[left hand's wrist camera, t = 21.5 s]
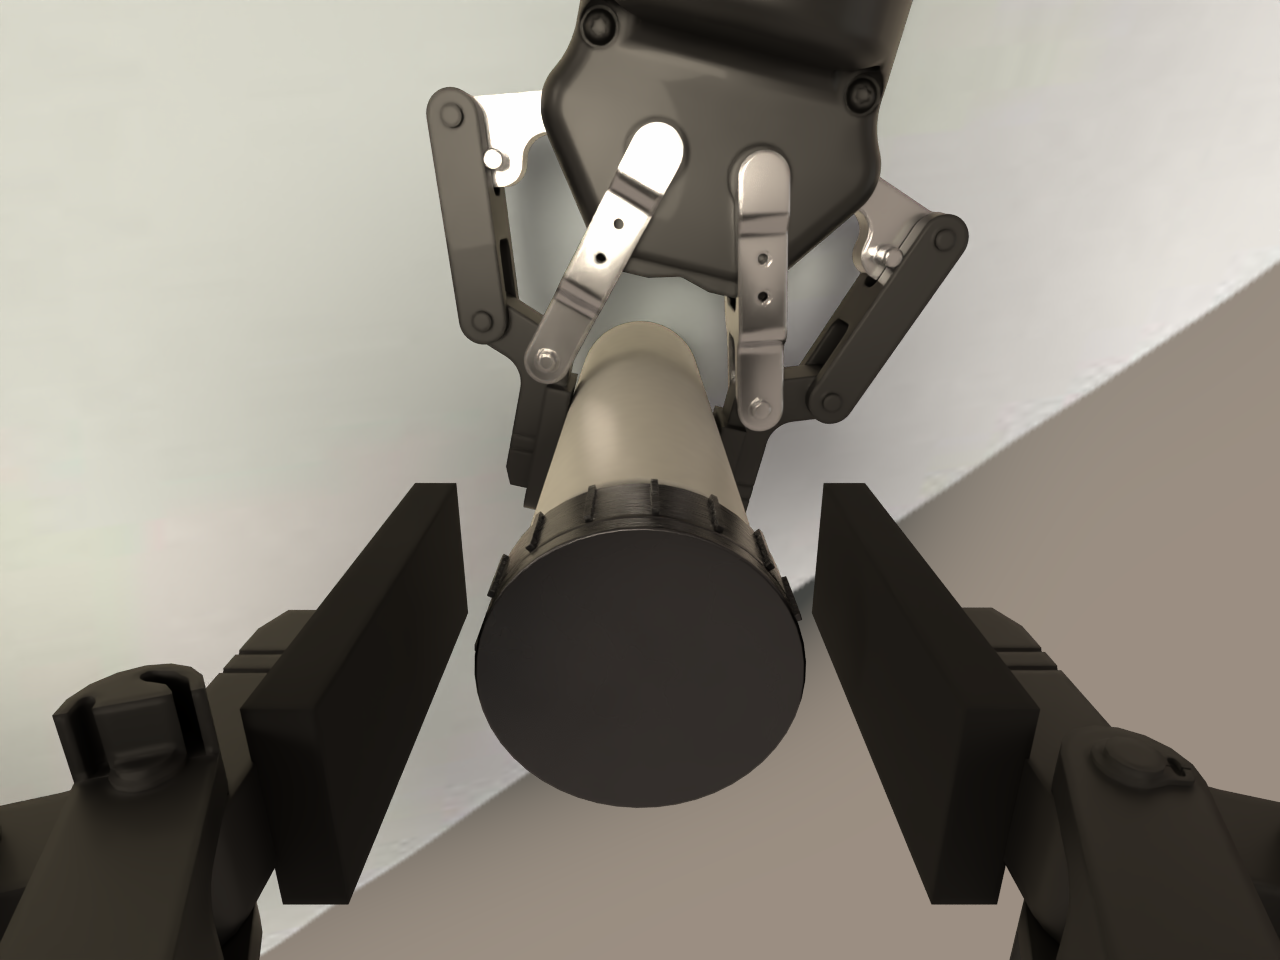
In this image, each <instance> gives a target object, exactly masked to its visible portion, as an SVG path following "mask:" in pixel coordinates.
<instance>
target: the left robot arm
mask: <svg viewBox="0 0 1280 960" xmlns="http://www.w3.org/2000/svg"><path fill="white" fill-rule="evenodd" d="M467 614H468V607H467V596H466V585H465V574H464V563H463V552H462V541H461V529H460V518H459V507H458V496H457V485H456V483H415V484H414V485H413V487H412V488H411V489H410V490H409V492H408V493H407V494H406V496H405V497H404V498H403V499H402V501H401V502H400V503H399V505H398V506H397V507H396V508H395V510H394V511H393V512H392V514H391V515H390V516H389V517H388V519H387V520H386V521H385V523H384V524H383V525H382V526H381V528H380V529H379V530H378V532H377V533H376V534H375V535H374V537H373V538H372V539H371V541H370V542H369V543H368V544H367V546H366V547H365V548H364V550H363V551H362V552H361V553H360V555H359V556H358V557H357V559H356V560H355V561H354V562H353V564H352V565H351V566H350V568H349V569H348V570H347V571H346V573H345V574H344V575H343V577H342V578H341V579H340V580H339V582H338V583H337V584H336V586H335V587H334V588H333V589H332V591H331V592H330V593H329V595H328V596H327V597H326V598H325V600H324V601H323V602H322V604H321V605H320V606H319V607H318V609H317V610H288V611H286V612H285V613H283V614H281V615H280V616H278V617H277V618H275V619H273V620H272V621H270V622H268V623H267V624H265V625H264V626H262V627H260V628H259V629H258V630H257V631H256V632H255V633H254V634H253V635H252V636H251V638H250V639H249V640H248V641H247V642H246V643H245V644H244V646H243V647H242V648H241V649H240V650H239V655H235V656H234V657H233V658H232V659H231V660H230V662H229V663H228V664H227V665H226V666H225V667H224V668H223V670H224V671H223V673H219V674H218V675H217V676H216V677H215V679H214V680H213V681H212V682H211V683H210V684H209V685H208V687H207V688H205V683H204V679H203V675H201V674H200V673H199V672H197V671H196V670H195V669H193V668H192V667H189V666H183V665H177V664H159V665H147V666H142V667H138V668H134V669H130V670H126V671H122V672H118V673H116V674H113V675H111V676H109V677H106V678H104V679H102V680H99V681H97V682H94V683H92V684H90V685H88V686H87V687H85V688H84V689H82V690H81V691H79V692H77V693H76V694H74V695H73V696H71V697H70V698H68V699H67V700H66V701H65V702H64V703H63V704H62V705H61V706H60V708H59V709H58V710H57V711H56V712H55V713H54V714H53V715H52V717H53V720H54V723H55V726H56V729H57V732H58V735H59V738H60V741H61V744H62V747H63V750H64V753H65V756H66V759H67V762H68V765H69V768H70V772H71V775H72V778H73V781H74V785H73V787H72V789H71V790H70V791H66V792H63V793H58V794H54V795H49V796H44V797H40V798H35V799H30V800H25V801H21V802H16V803H11V804H7V805H2V806H0V960H259V958H260V949H261V941H262V926H261V920H260V914H259V910H258V906H257V900H258V898H259V896H260V894H261V892H262V891H263V889H264V887H265V885H266V883H267V881H268V879H269V878H270V876H271V874H272V872H273V870H274V868H275V871H276V875H277V880H278V884H279V889H280V893H281V898H282V902H283V904H349V902H350V899H351V897H352V894H353V892H354V890H355V887H356V885H357V882H358V880H359V877H360V875H361V873H362V870H363V868H364V865H365V863H366V860H367V858H368V855H369V853H370V851H371V848H372V846H373V843H374V841H375V838H376V836H377V834H378V831H379V829H380V826H381V824H382V821H383V819H384V816H385V814H386V812H387V809H388V807H389V804H390V802H391V799H392V797H393V795H394V792H395V790H396V787H397V785H398V782H399V780H400V777H401V775H402V773H403V770H404V768H405V765H406V763H407V760H408V758H409V756H410V753H411V751H412V748H413V746H414V743H415V741H416V739H417V736H418V734H419V731H420V729H421V726H422V724H423V721H424V719H425V717H426V714H427V712H428V709H429V707H430V704H431V702H432V700H433V697H434V695H435V692H436V690H437V687H438V685H439V682H440V680H441V678H442V675H443V673H444V670H445V668H446V665H447V663H448V661H449V658H450V656H451V653H452V651H453V648H454V646H455V644H456V641H457V639H458V636H459V634H460V631H461V629H462V626H463V624H464V622H465V619H466V617H467ZM812 614H813V617H814V619H815V622H816V624H817V626H818V629H819V631H820V634H821V636H822V639H823V641H824V643H825V646H826V648H827V651H828V653H829V656H830V658H831V661H832V663H833V665H834V668H835V670H836V673H837V675H838V678H839V680H840V682H841V685H842V687H843V690H844V692H845V695H846V697H847V700H848V702H849V704H850V707H851V709H852V712H853V714H854V717H855V719H856V721H857V724H858V726H859V729H860V731H861V734H862V736H863V739H864V741H865V743H866V746H867V748H868V751H869V753H870V756H871V758H872V760H873V763H874V765H875V768H876V770H877V773H878V775H879V777H880V780H881V782H882V785H883V787H884V790H885V792H886V794H887V797H888V799H889V802H890V804H891V807H892V809H893V812H894V814H895V816H896V819H897V821H898V824H899V826H900V829H901V831H902V833H903V836H904V838H905V841H906V843H907V846H908V848H909V851H910V853H911V855H912V858H913V860H914V863H915V865H916V868H917V870H918V872H919V875H920V877H921V880H922V882H923V885H924V887H925V890H926V892H927V894H928V897H929V899H930V902H931V904H997V902H998V898H999V893H1000V889H1001V884H1002V880H1003V875H1004V871H1005V866H1007V868H1008V870H1009V872H1010V874H1011V876H1012V877H1013V879H1014V881H1015V883H1016V885H1017V887H1018V888H1019V890H1020V892H1021V894H1022V896H1023V898H1024V902H1023V906H1022V910H1021V914H1020V918H1019V923H1018V927H1017V931H1016V935H1015V939H1014V944H1013V948H1012V952H1011V956H1010V960H1280V802H1276V801H1271V800H1266V799H1261V798H1257V797H1252V796H1247V795H1242V794H1237V793H1233V792H1228V791H1223V790H1219V789H1215V788H1212V787H1208V785H1207V783H1206V781H1205V780H1204V779H1203V777H1202V776H1201V775H1200V774H1199V772H1198V771H1197V770H1196V768H1195V767H1194V766H1193V764H1191V763H1190V762H1189V761H1187V760H1186V759H1185V758H1183V757H1182V756H1181V755H1179V754H1178V753H1177V752H1175V751H1174V750H1173V749H1171V748H1170V747H1168V746H1165V745H1163V744H1161V743H1159V742H1157V741H1155V740H1153V739H1151V738H1149V737H1147V736H1145V735H1142V734H1138V733H1135V732H1131V731H1128V730H1124V729H1121V728H1117V727H1111V726H1110V725H1109V724H1108V723H1107V721H1106V720H1105V719H1104V718H1103V717H1102V716H1101V715H1100V714H1099V712H1098V711H1097V710H1096V709H1095V708H1094V707H1093V706H1092V705H1091V703H1090V702H1089V701H1088V700H1087V699H1086V698H1085V697H1084V696H1083V694H1082V693H1081V692H1080V691H1079V690H1078V689H1077V688H1076V687H1075V685H1074V684H1073V683H1072V682H1071V681H1070V680H1069V679H1068V677H1067V676H1066V675H1065V674H1064V673H1063V672H1062V671H1061V670H1057V665H1056V664H1055V663H1054V662H1053V660H1052V659H1051V658H1050V657H1049V656H1048V655H1047V654H1046V653H1045V652H1042V651H1041V647H1040V646H1039V645H1038V644H1037V642H1036V641H1035V640H1034V639H1033V638H1032V637H1031V636H1030V634H1029V633H1028V632H1027V631H1026V630H1025V629H1024V628H1023V627H1022V626H1021V625H1019V624H1018V623H1016V622H1015V621H1013V620H1011V619H1010V618H1008V617H1006V616H1005V615H1003V614H1001V613H1000V612H998V611H996V610H995V609H993V608H962V607H961V606H960V605H959V604H958V602H957V601H956V600H955V598H954V597H953V596H952V595H951V593H950V592H949V591H948V589H947V588H946V587H945V586H944V584H943V583H942V582H941V580H940V579H939V578H938V577H937V575H936V574H935V573H934V571H933V570H932V569H931V568H930V566H929V565H928V564H927V562H926V561H925V560H924V559H923V557H922V556H921V555H920V553H919V552H918V551H917V550H916V548H915V547H914V546H913V544H912V543H911V542H910V541H909V539H908V538H907V537H906V535H905V534H904V533H903V532H902V530H901V529H900V528H899V526H898V525H897V524H896V523H895V521H894V520H893V519H892V517H891V516H890V515H889V514H888V512H887V511H886V510H885V508H884V507H883V506H882V505H881V503H880V502H879V501H878V499H877V498H876V497H875V496H874V494H873V493H872V492H871V490H870V489H869V488H868V487H867V485H866V484H865V483H824V485H823V496H822V507H821V518H820V529H819V541H818V552H817V563H816V574H815V585H814V596H813V607H812Z"/></svg>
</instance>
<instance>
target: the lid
mask: <svg viewBox="0 0 1280 960" xmlns="http://www.w3.org/2000/svg"><path fill="white" fill-rule="evenodd" d="M487 596H489V597H491V598H492V599H491V602H490V604H489V607H488V610H487V612H486V615H485V618H484V621H483V624H482V627H481V629H480V632H479V635H478V637H477V640H476V643H475V651H476V652H475V680H476V687H477V693H478V696H479V700H480V703H481V707H482V710H483V712H484V714H485V716H486V719H487V721H488V723H489V725H490V727H491V729H492V730H493V732H494V733H495V735H496V736H497V738H498V740H499V741H500V743H501V744H502V745H503V746H504V747H505V749H506V750H507V751H508V752H509V753H510V754H511V756H512V757H513V758H514V759H516V760H517V761H518V762H519V763H520V764H521V765H522V766H523V767H524V768H526V769H527V770H528V771H529V772H531V773H532V774H534V775H535V776H536V777H538V778H539V779H541V780H542V781H544V782H546V783H548V784H549V785H551V786H553V787H555V788H557V789H559V790H561V791H563V792H566V793H568V794H571V795H573V796H576V797H578V798H582V799H585V800H588V801H592V802H596V803H600V804H606V805H612V806H618V807H633V808H645V807H661V806H669V805H676V804H680V803H684V802H688V801H692V800H696V799H699V798H702V797H705V796H707V795H710V794H713V793H715V792H717V791H719V790H721V789H723V788H725V787H727V786H729V785H731V784H733V783H735V782H736V781H738V780H739V779H741V778H742V777H744V776H746V775H747V774H749V773H750V772H751V771H752V770H753V769H755V768H756V767H757V766H758V765H759V764H761V763H762V762H763V761H764V760H765V759H766V758H767V757H768V756H769V755H770V754H771V752H772V751H773V750H774V749H775V748H776V747H777V745H778V744H779V743H780V741H781V740H782V739H783V737H784V736H785V734H786V733H787V731H788V729H789V727H790V725H791V724H792V722H793V720H794V718H795V716H796V713H797V710H798V707H799V704H800V702H801V699H802V694H803V689H804V684H805V672H806V658H805V650H804V642H803V639H802V635H801V632H800V628H799V625H798V622H797V621H800V620H802V618H801V614H800V611H799V609H798V606H797V604H796V601H795V598H794V596H793V593H792V590H791V588H790V585H789V583H788V580H787V577H786V576H785V577H782V578H781V576H780V573H779V570H778V568H777V566H776V564H775V562H774V559H773V557H772V555H771V554H770V552H769V549H768V546H767V543H766V541H765V538H764V535H763V533H762V532H761V530H760V529H758V530H756V531H755V532H754V531H753V529H752V528H751V527H750V526H749V525H748V524H746V523H745V522H744V521H743V520H742V519H741V518H740V517H738V516H737V515H736V514H735V513H733V512H732V511H730V510H729V509H727V508H726V507H724V506H723V505H721V504H719V502H718V498H717V496H715V495H713V494H711V495H710V497H709V498H707V497H705V496H703V495H700V494H698V493H695V492H692V491H689V490H686V489H682V488H678V487H673V486H668V485H662V484H658V479H651V481H650V483H631V484H619V485H613V486H607V487H602V488H599V489H597V488H596V485H591V486H589V487H588V492H585V493H582V494H580V495H578V496H576V497H573V498H571V499H569V500H566V501H565V502H563V503H561V504H560V505H558V506H556V507H555V508H553V509H551V510H550V511H548V512H547V513H546V514H545V515H544V514H543V513H542V512H541V511H540V512H539V513H538V514H536V515H535V519H534V522H533V525H532V526H531V527H530V528H529V529H528V530H527V531H526V532H525V533H524V534H523V535H522V536H521V538H520V539H519V541H518V542H517V544H516V545H515V546H514V548H513V549H512V551H511V552H510V554H509V556H507V555H505V554H503V556H502V558H501V560H500V563H499V565H498V568H497V571H496V573H495V576H494V579H493V581H492V584H491V586H490V589H489V592H488V594H487Z"/></svg>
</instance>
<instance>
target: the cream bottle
mask: <svg viewBox="0 0 1280 960" xmlns="http://www.w3.org/2000/svg"><path fill="white" fill-rule="evenodd" d="M651 479H658V484H662V485H668V486H673V487H678V488H682V489H686V490H689V491H692V492H695V493H698V494H700V495H703V496H705V497H707V498H709V497H710V495H711V494H713V495H715V496H717V498H718V502H719V504H721V505H723V506H724V507H726V508H727V509H729V510H730V511H732V512H733V513H735V514H736V515H737V516H738V517H740V518H741V519H742V520H743V521H744V522H745V523H746V524H748V525H749V522H748V519H747V516H746V513H745V510H744V507H743V504H742V501H741V498H740V495H739V492H738V489H737V486H736V483H735V480H734V476H733V473H732V470H731V467H730V464H729V461H728V458H727V455H726V452H725V449H724V446H723V443H722V440H721V437H720V434H719V431H718V428H717V425H716V422H715V419H714V416H713V413H712V410H711V407H710V404H709V401H708V398H707V395H706V392H705V389H704V386H703V383H702V380H701V377H700V373H699V370H698V367H697V364H696V361H695V358H694V356H693V354H692V352H691V350H690V348H689V347H688V345H687V344H686V343H685V342H684V341H683V339H682V338H681V337H680V336H678V335H677V334H676V333H675V332H673V331H672V330H670V329H668V328H666V327H664V326H662V325H659V324H656V323H652V322H644V321H636V322H629V323H624V324H621V325H618V326H616V327H614V328H612V329H610V330H609V331H607V332H606V333H604V334H603V335H602V336H601V337H600V338H599V339H598V340H597V341H596V342H595V343H594V344H593V346H592V347H591V349H590V351H589V352H588V355H587V357H586V359H585V362H584V365H583V368H582V371H581V374H580V377H579V380H578V383H577V386H576V389H575V392H574V395H573V398H572V402H571V405H570V408H569V411H568V414H567V417H566V420H565V423H564V426H563V429H562V432H561V435H560V438H559V441H558V444H557V447H556V450H555V453H554V456H553V459H552V462H551V465H550V468H549V471H548V474H547V477H546V480H545V483H544V486H543V489H542V492H541V495H540V498H539V501H538V504H537V508H536V511H535V514H534V517H533V520H532V523H531V526H532V525H533V522H534V519H535V515H536V514H538V513H539V512H540V511H541V512H542V513H543V514H544V515H545V514H546V513H547V512H548V511H550V510H551V509H553V508H555V507H556V506H558V505H560V504H561V503H563V502H565V501H566V500H569V499H571V498H573V497H576V496H578V495H580V494H582V493H585V492H588V487H589V486H591V485H596V488H597V489H599V488H602V487H607V486H613V485H619V484H631V483H650V481H651ZM531 526H530V527H531ZM749 526H750V525H749Z"/></svg>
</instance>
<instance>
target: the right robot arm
mask: <svg viewBox="0 0 1280 960" xmlns="http://www.w3.org/2000/svg"><path fill="white" fill-rule="evenodd" d="M912 1H913V0H580V5H579V11H578V17H577V22H576V27H575V30H574V33H573V37H572V39H571V41H570V44H569V46H568V48H567V50H566V52H565V53H564V55H563V57H562V58H561V60H560V61H559V62H558V64H557V65H556V66H555V67H554V69H553V70H552V71H551V72H550V74H549V76H548V77H547V79H546V81H545V83H544V86H543V89H542V91H534V92H522V93H511V94H499V95H487V96H471V95H469V94H468V93H466V92H464V91H462V90H460V89H458V88H454V87H446V88H442V89H440V90H438V91H437V92H435V93H434V94H433V95H432V97H431V98H430V100H429V102H428V105H427V111H426V115H427V123H428V129H429V136H430V142H431V148H432V154H433V161H434V167H435V173H436V179H437V186H438V192H439V198H440V205H441V211H442V217H443V223H444V230H445V236H446V242H447V249H448V255H449V261H450V267H451V274H452V280H453V286H454V293H455V299H456V305H457V311H458V318H459V324H460V327H461V330H462V332H463V333H464V335H465V336H466V337H467V338H468V339H470V340H471V341H473V342H475V343H478V344H487V345H489V346H490V347H492V348H493V349H495V350H497V351H498V352H500V353H501V354H503V355H505V356H506V357H508V358H509V359H510V360H511V361H512V362H513V363H514V364H515V366H516V367H517V369H518V371H519V374H520V378H521V387H520V393H519V398H518V404H517V409H516V415H515V421H514V426H513V433H512V437H511V443H510V449H509V454H508V459H507V465H506V468H507V472H508V477H509V481H510V484H511V485H516V486H521V487H525V488H527V489H526V494H525V500H524V507H526V508H530V509H535V510H536V508H537V504H538V501H539V498H540V495H541V492H542V489H543V486H544V483H545V480H546V477H547V474H548V471H549V468H550V465H551V462H552V459H553V456H554V453H555V450H556V447H557V444H558V441H559V438H560V435H561V432H562V429H563V426H564V423H565V420H566V417H567V414H568V411H569V408H570V405H571V402H572V398H573V395H574V390H575V385H576V380H577V376H578V374H575V373H571V371H572V366H573V361H574V359H575V357H576V355H577V354H578V352H579V350H580V348H581V346H582V344H583V342H584V341H585V339H586V337H587V335H588V333H589V331H590V329H591V328H592V326H593V324H594V322H595V320H596V318H597V316H598V315H599V313H600V311H601V310H602V308H603V306H604V304H605V303H606V301H607V299H608V297H609V295H610V293H611V291H612V290H613V288H614V286H615V284H616V282H617V280H618V278H619V276H620V275H621V273H622V272H627V273H631V274H635V275H639V276H643V277H648V278H654V277H682V278H684V279H686V280H688V281H690V282H692V283H693V284H695V285H697V286H699V287H701V288H702V289H704V290H706V291H708V292H711V293H715V294H719V295H723V296H725V322H726V329H727V357H728V392H727V395H726V399H725V403H724V406H723V407H719V406H715V408H714V412H713V416H714V419H715V422H716V425H717V428H718V431H719V434H720V437H721V440H722V443H723V446H724V449H725V452H726V455H727V458H728V461H729V464H730V467H731V470H732V473H733V476H734V480H735V483H736V486H737V489H738V492H739V495H740V498H741V501H742V504H743V507H744V510H745V513H746V510H747V507H748V503H749V499H750V497H751V493H752V490H753V485H754V483H755V480H756V477H757V473H758V470H759V467H760V463H761V460H762V457H763V454H764V450H765V447H766V444H767V441H768V439H769V437H770V435H771V434H772V433H773V431H774V430H775V429H777V428H778V427H779V426H781V425H783V424H785V423H788V422H794V421H802V420H810V419H817V420H818V421H820V422H822V423H825V424H834V423H837V422H840V421H842V420H843V419H845V418H846V417H847V416H848V415H849V414H850V412H851V411H852V410H853V408H854V407H855V405H856V404H857V403H858V401H859V400H860V398H861V397H862V395H863V394H864V393H865V391H866V390H867V388H868V387H869V386H870V384H871V383H872V381H873V380H874V378H875V377H876V376H877V374H878V373H879V371H880V370H881V369H882V367H883V366H884V364H885V363H886V361H887V360H888V359H889V357H890V356H891V354H892V353H893V352H894V350H895V349H896V347H897V346H898V344H899V343H900V342H901V340H902V339H903V337H904V336H905V335H906V333H907V332H908V330H909V329H910V327H911V326H912V325H913V323H914V322H915V320H916V319H917V318H918V316H919V315H920V313H921V312H922V310H923V309H924V308H925V306H926V305H927V303H928V302H929V301H930V299H931V298H932V296H933V295H934V293H935V292H936V291H937V289H938V288H939V286H940V285H941V284H942V282H943V281H944V279H945V278H946V276H947V275H948V274H949V272H950V271H951V269H952V268H953V267H954V265H955V264H956V262H957V261H958V259H959V258H960V257H961V255H962V254H963V252H964V251H965V249H966V247H967V244H968V238H969V234H968V229H967V226H966V224H965V223H964V221H963V220H962V219H960V218H959V217H957V216H955V215H951V214H944V213H941V212H931V211H929V210H928V209H926V208H925V207H923V206H922V205H920V204H919V203H917V202H916V201H914V200H913V199H912V198H910V197H909V196H907V195H906V194H904V193H903V192H901V191H900V190H898V189H897V188H895V187H894V186H892V185H891V184H889V183H888V182H886V181H885V180H883V179H882V178H880V172H881V156H880V151H879V146H878V139H877V120H878V113H879V108H880V104H881V101H882V97H883V95H884V92H885V89H886V85H887V82H888V79H889V76H890V73H891V69H892V66H893V63H894V60H895V56H896V53H897V50H898V47H899V43H900V40H901V37H902V34H903V30H904V27H905V24H906V21H907V17H908V14H909V11H910V8H911V4H912ZM545 135H548V138H549V140H550V143H551V145H552V147H553V150H554V152H555V154H556V157H557V159H558V161H559V164H560V166H561V168H562V171H563V173H564V175H565V178H566V180H567V183H568V185H569V187H570V190H571V192H572V194H573V197H574V199H575V201H576V204H577V206H578V208H579V211H580V213H581V215H582V218H583V220H584V223H585V225H586V227H587V230H586V232H585V234H584V236H583V238H582V240H581V242H580V244H579V246H578V248H577V250H576V252H575V254H574V256H573V258H572V260H571V262H570V264H569V266H568V268H567V270H566V272H565V273H564V275H563V277H562V279H561V281H560V283H559V286H558V288H557V290H556V292H555V295H554V297H553V299H552V301H551V302H550V304H549V306H548V308H547V310H546V312H545V314H544V315H542V314H540V313H539V312H537V311H536V310H534V309H533V308H531V307H529V306H528V305H526V304H525V303H523V302H522V301H520V300H519V296H518V288H517V280H516V273H515V265H514V257H513V250H512V242H511V234H510V227H509V219H508V211H507V204H506V196H505V188H504V187H510V186H513V185H515V184H517V183H518V182H520V181H521V180H522V178H523V177H524V175H525V173H526V170H527V157H528V152H529V149H530V147H531V146H532V144H533V143H534V142H535V141H536V140H537V139H538V138H540V137H542V136H545ZM853 214H854V215H855V216H856V218H857V220H858V222H859V236H858V239H857V241H856V243H855V245H854V248H853V253H852V258H853V263H854V265H855V267H856V268H857V270H858V271H859V272H861V274H860V275H859V277H858V278H857V280H856V281H855V283H854V284H853V286H852V287H851V289H850V290H849V292H848V293H847V295H846V296H845V298H844V299H843V301H842V302H841V304H840V305H839V307H838V308H837V310H836V311H835V313H834V314H833V316H832V317H831V319H830V320H829V322H828V323H827V325H826V326H825V328H824V329H823V331H822V332H821V334H820V335H819V337H818V338H817V340H816V341H815V343H814V344H813V346H812V347H811V349H810V350H809V352H808V353H807V355H806V356H805V358H804V359H803V361H802V362H801V364H800V365H799V366H792V367H783V352H784V344H785V342H786V337H787V292H788V269H790V268H791V267H792V266H793V265H794V264H796V263H797V262H798V261H799V260H800V259H801V258H803V257H804V256H805V255H806V254H807V253H808V252H810V251H811V250H812V249H813V248H814V247H816V246H817V245H818V244H819V243H820V242H821V241H823V240H824V239H825V238H826V237H827V236H829V235H830V234H831V233H832V232H833V231H834V230H836V229H837V228H838V227H839V226H840V225H841V224H843V223H844V222H845V221H846V220H847V219H849V218H850V217H851V216H852V215H853Z"/></svg>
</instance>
